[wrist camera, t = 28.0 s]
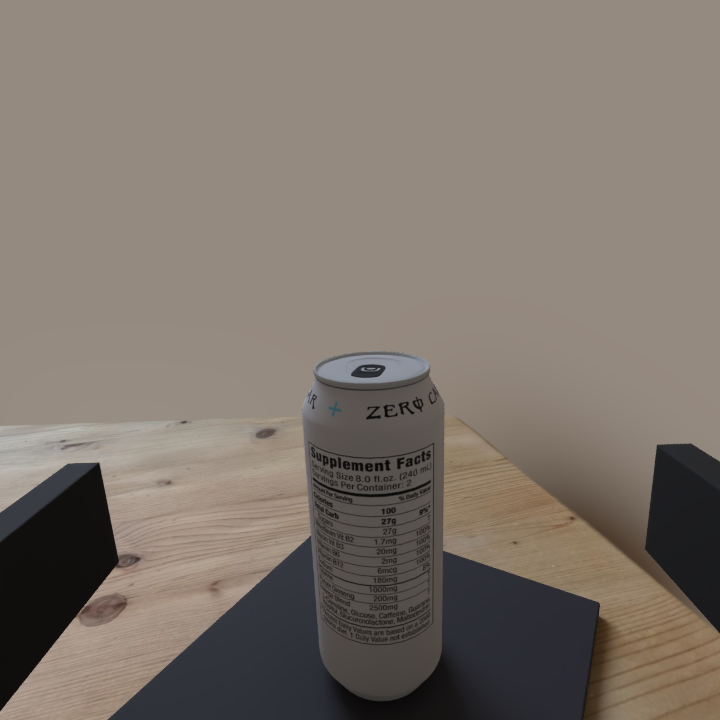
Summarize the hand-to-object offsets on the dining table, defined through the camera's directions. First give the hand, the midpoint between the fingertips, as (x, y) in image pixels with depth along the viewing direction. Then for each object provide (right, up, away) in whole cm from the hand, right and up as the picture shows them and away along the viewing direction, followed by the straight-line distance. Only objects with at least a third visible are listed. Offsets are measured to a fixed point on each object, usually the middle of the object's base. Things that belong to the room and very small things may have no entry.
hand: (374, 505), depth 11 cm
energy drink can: (+1, -11, +12) cm, 17 cm away
